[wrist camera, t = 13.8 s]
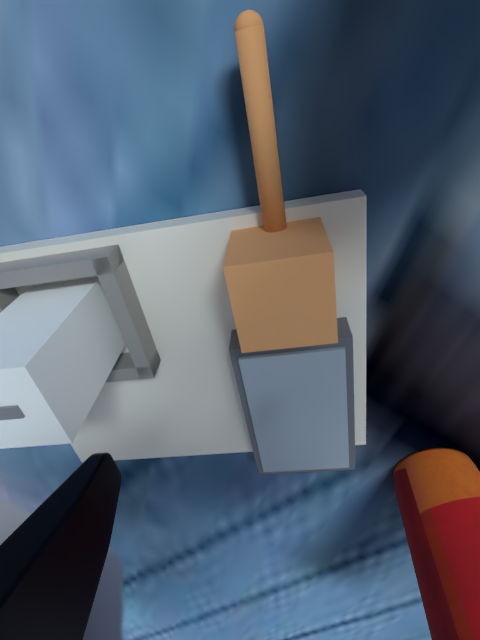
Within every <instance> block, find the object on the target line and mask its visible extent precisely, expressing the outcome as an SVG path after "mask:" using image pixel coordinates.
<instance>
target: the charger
mask: <svg viewBox="0 0 480 640" xmlns="http://www.w3.org/2000/svg"><path fill="white" fill-rule="evenodd" d="M124 346H125V341H124V339H123V336H122V334H121V332H120V329H119V327H118V324H117V322H116V320H115V317H114V315H113V312H112V310H111V308H110V305H109V303H108V300H107V298H106V296H105V293H104V291H103V288H102V286H101V283H100V281H99V279H98V278H93V279H86V280H79V281H72V282H65V283H58V284H51V285H44V286H37V287H30V288H28V289H27V290H26V291H25V292H24V293H22V294H21V295H20V296H19V297H18V298H17V299H15V300H14V301H13V302H12V303H11V304H10V305H9V306H7V307H6V308H5V309H4V310H3V311H2V312H1V313H0V449H4V448H17V447H31V446H44V445H57V444H71V443H73V441H74V439H75V437H76V435H77V434H78V432H79V430H80V428H81V426H82V424H83V422H84V421H85V419H86V417H87V415H88V413H89V411H90V409H91V408H92V406H93V404H94V402H95V400H96V398H97V396H98V395H99V393H100V391H101V389H102V387H103V385H104V383H105V381H106V380H107V378H108V376H109V374H110V372H111V370H112V368H113V367H114V365H115V363H116V361H117V359H118V357H119V355H120V354H121V352H122V350H123V348H124Z"/></svg>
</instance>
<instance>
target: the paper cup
mask: <svg viewBox="0 0 480 640" xmlns="http://www.w3.org/2000/svg"><path fill="white" fill-rule="evenodd" d="M393 479H394V485H395V490H396V494H397V499H398V503H399V507H400V512H401V516H402V520H403V524H404V528H405V532H406V537H407V541H408V545H409V549H410V553H411V557H412V561H413V565H414V569H415V573H416V577H417V581H418V585H419V589H420V593H421V597H422V602H423V606H424V610H425V614H426V618H427V622H428V626H429V630H430V634H431V638H432V640H480V472H479V470H478V469H477V467H476V466H475V464H474V463H473V461H472V460H471V459H470V458H469V457H468V456H467V455H466V454H465V453H463V452H461V451H459V450H456V449H452V448H443V447H437V448H428V449H423V450H420V451H417V452H414V453H412V454H410V455H408V456H406V457H405V458H403V459H402V460H401V461H400V462H399V463H398V464H397V465H396V467H395V469H394V472H393Z"/></svg>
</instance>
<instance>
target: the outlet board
mask: <svg viewBox="0 0 480 640" xmlns="http://www.w3.org/2000/svg"><path fill="white" fill-rule="evenodd" d="M284 207H285V215H286V222H290V221H297V220H303V219H310V218H316V217H320V218H321V220H322V223H323V225H324V228H325V231H326V233H327V236H328V238H329V241H330V244H331V246H332V249H333V251H334V268H335V289H336V309H337V318H341V317H346V318H347V321H348V324H349V327H350V330H351V333H352V336H353V366H354V416H355V445H365V444H366V244H367V196H366V195H365V193H364V192H363V191H362V190H361V189H358V190H352V191H345V192H339V193H333V194H327V195H320V196H314V197H308V198H302V199H295V200H289V201H284ZM258 226H263V220H262V214H261V207H260V205H258V206H252V207H245V208H239V209H233V210H227V211H220V212H214V213H208V214H202V215H195V216H189V217H183V218H177V219H170V220H164V221H158V222H152V223H145V224H139V225H133V226H127V227H120V228H114V229H108V230H102V231H95V232H89V233H83V234H77V235H70V236H64V237H58V238H52V239H45V240H39V241H33V242H27V243H20V244H14V245H8V246H2V247H0V313H1V312H2V311H3V310H4V309H5V308H6V307H7V306H9V305H10V304H11V303H12V302H13V301H14V300H15V299H17V298H18V297H19V296H20V295H21V294H22V293H24V292H25V291H26V290H27V289H28V288H30V287H37V286H44V285H51V284H58V283H65V282H72V281H79V280H86V279H93V278H98V279H99V281H100V283H101V286H102V288H103V291H104V293H105V296H106V298H107V300H108V303H109V305H110V308H111V310H112V312H113V315H114V317H115V320H116V322H117V324H118V327H119V329H120V332H121V334H122V336H123V339H124V341H125V346H124V348H123V350H122V352H121V354H120V355H119V357H118V359H117V361H116V363H115V365H114V367H113V368H112V370H111V372H110V374H109V376H108V378H107V380H106V381H105V383H104V385H103V387H102V389H101V391H100V393H99V395H98V396H97V398H96V400H95V402H94V404H93V406H92V408H91V409H90V411H89V413H88V415H87V417H86V419H85V421H84V422H83V424H82V426H81V428H80V430H79V432H78V434H77V435H76V437H75V439H74V441H73V443H71V446H72V447H73V449H74V451H75V452H76V454H77V455H78V457H79V459H80V460H81V462H82V463H83V462H84V461H85V460H86V459H87V458H88V457H89V456H91V455H92V454H94V453H105V452H107V453H109V454H111V456H112V458H113V459H114V460H130V459H145V458H161V457H177V456H192V455H208V454H224V453H239V452H253V449H252V445H251V441H250V437H249V433H248V428H247V424H246V420H245V416H244V412H243V408H242V403H241V399H240V395H239V391H238V387H237V382H236V378H235V374H234V370H233V366H232V362H231V357H230V353H229V345H230V338H231V331H232V330H235V329H236V325H235V321H234V316H233V312H232V307H231V302H230V298H229V293H228V289H227V284H226V280H225V275H224V271H223V264H224V260H225V256H226V252H227V247H228V243H229V239H230V235H231V231H232V230H238V229H245V228H251V227H258Z"/></svg>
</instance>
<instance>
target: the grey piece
mask: <svg viewBox="0 0 480 640" xmlns="http://www.w3.org/2000/svg"><path fill="white" fill-rule="evenodd" d="M337 330H338V343H333V344H324V345H314V346H305V347H295V348H286V349H276V350H267V351H257V352H248V353H242V352H241V348H240V343H239V339H238V334H237V330H236V329H235V330H232V331H231V338H230V345H229V353H230V357H231V362H232V366H233V370H234V374H235V378H236V382H237V387H238V391H239V395H240V399H241V403H242V408H243V412H244V416H245V420H246V424H247V428H248V433H249V437H250V441H251V445H252V449H253V454H254V458H255V462H256V466H257V470H258V475H265V474H283V473H301V472H320V471H338V470H356V467H355V416H354V366H353V336H352V333H351V330H350V327H349V324H348V321H347V318H346V317H341V318H337Z"/></svg>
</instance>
